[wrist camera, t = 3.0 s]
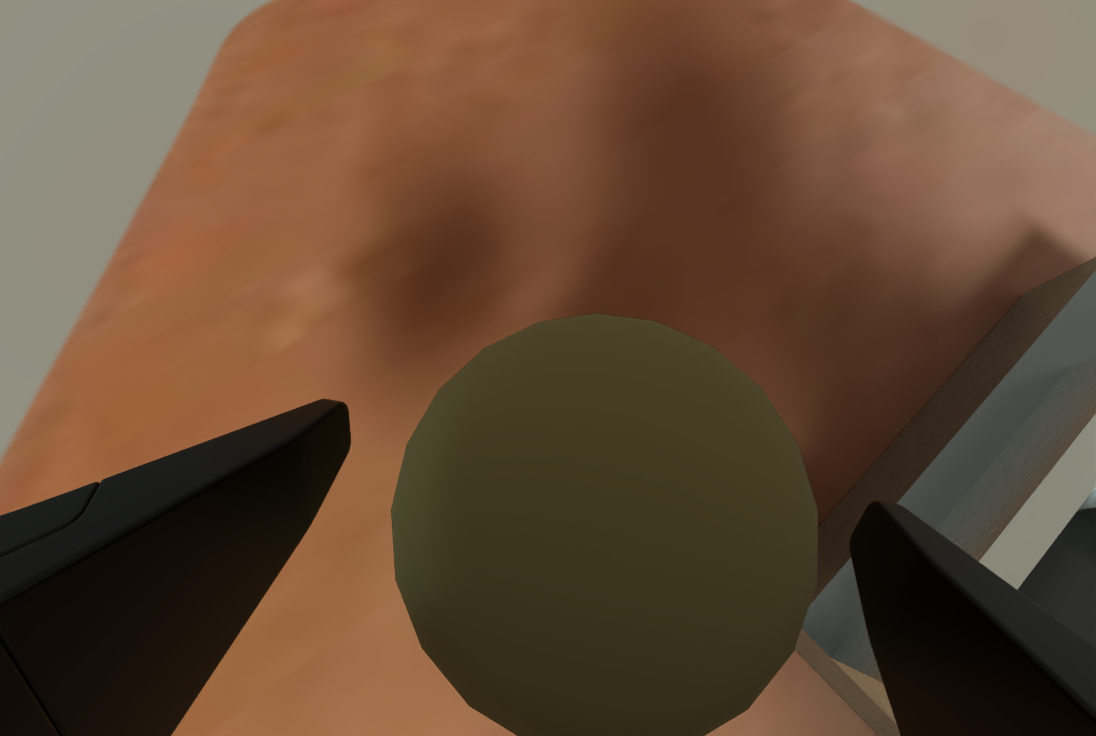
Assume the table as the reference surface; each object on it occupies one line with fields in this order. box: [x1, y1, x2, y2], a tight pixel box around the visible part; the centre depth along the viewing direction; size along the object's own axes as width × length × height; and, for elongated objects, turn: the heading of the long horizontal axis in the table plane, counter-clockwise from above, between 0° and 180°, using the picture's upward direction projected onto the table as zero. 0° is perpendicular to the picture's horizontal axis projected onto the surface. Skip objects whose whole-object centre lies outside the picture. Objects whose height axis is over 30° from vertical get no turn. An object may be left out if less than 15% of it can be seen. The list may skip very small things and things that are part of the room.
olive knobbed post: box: [391, 313, 818, 736], centre depth 10 cm, size 6×6×11 cm
